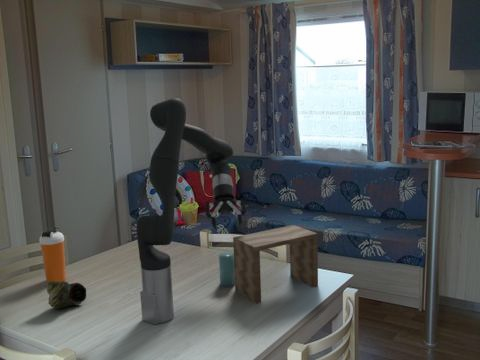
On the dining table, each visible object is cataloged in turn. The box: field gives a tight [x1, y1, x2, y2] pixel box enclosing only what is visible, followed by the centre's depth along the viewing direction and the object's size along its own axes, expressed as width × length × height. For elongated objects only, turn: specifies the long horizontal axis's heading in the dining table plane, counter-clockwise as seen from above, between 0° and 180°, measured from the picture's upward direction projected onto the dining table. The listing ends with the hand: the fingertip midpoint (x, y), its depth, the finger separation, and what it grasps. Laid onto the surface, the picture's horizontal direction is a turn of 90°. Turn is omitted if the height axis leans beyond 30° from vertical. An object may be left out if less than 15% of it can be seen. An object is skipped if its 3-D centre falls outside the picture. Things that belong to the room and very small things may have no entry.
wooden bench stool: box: [232, 224, 319, 304], centre depth 187 cm, size 14×26×20 cm, turn 120°
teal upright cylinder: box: [218, 252, 235, 288], centre depth 194 cm, size 6×6×11 cm
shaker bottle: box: [38, 227, 67, 282], centre depth 203 cm, size 9×9×20 cm
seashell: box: [45, 280, 87, 310], centre depth 178 cm, size 11×11×10 cm
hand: (227, 226), depth 186 cm, fingers open, 8 cm apart
